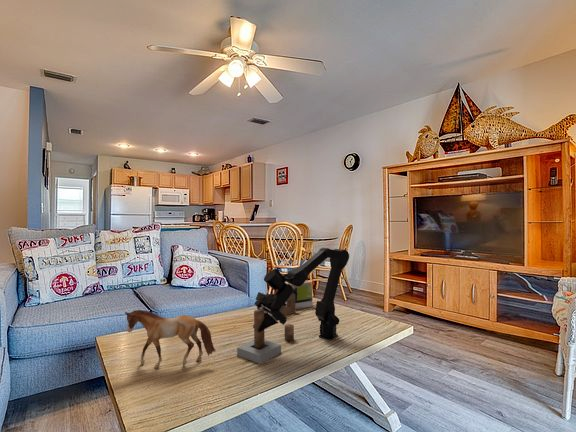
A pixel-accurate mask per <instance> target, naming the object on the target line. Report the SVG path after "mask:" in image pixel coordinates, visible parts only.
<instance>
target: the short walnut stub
mask: <svg viewBox="0 0 576 432" xmlns="http://www.w3.org/2000/svg"><path fill="white" fill-rule="evenodd" d="M294 331H295V325H294V324H292V323H291V324H290V323H288V324H287V323H285V324H284V341H286V342H293V341H294V340H295V332H294Z"/></svg>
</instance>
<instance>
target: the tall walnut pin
mask: <svg viewBox="0 0 576 432" xmlns="http://www.w3.org/2000/svg"><path fill="white" fill-rule="evenodd" d="M263 320H264V310H258V309H255V310H253V325H254V328H253V340H254V348H255V349H263V348H264V347H265V340H266V338H265V330H263V331H261V332H259V331H258V328H259V327H260V325H261V323H262V322H263Z"/></svg>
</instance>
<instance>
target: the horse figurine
mask: <svg viewBox="0 0 576 432" xmlns="http://www.w3.org/2000/svg"><path fill="white" fill-rule="evenodd" d="M124 314H125V315H126V321H127V323H126V325H127V326H126V332H128V333H132V332H133V330H134V328H135V326H136V325H137V324H138V322H139V323H140V324H141V325H142V327H143V328H144V329H145V330H146V335H147V339H146V342H145V344H144V346H143V349H142V352H141V355H140V365H141V366H142V365H144V364H145V362H146V360H145V354H146V351H147V349H148V348H149V346H150V345H151V344H153V345H154V347H155V348H156V349H155V350H156V352H157V356H158V361H157V362H156V363H155V365H154V366H153V369H159V368H160V366H161V365H160V364H161V363H162V361H163V357H162V353H161V352H162V349H161V343H160V340H161V339H162V340H163V339H169V338H175V337H176V336H177V337H178V339H180V340H181V342H182V343H183V344H185V345H187V351H186V352H185V354H184V356H183V360H182V367H184V366H185V365H187V363H188V361H187V359H188V357H189V354H190V353H191V351H192V349H193V348H194V345H195V344H196V345H197V348H198V356H197V358H196V360H195V361H197V362H198V361H199V362H200V361H201V360H202V358H203V357H202V356H203V354H204V352H203V347H204V350H205V352H206V354H207V356H210V355H212V354H213V352H216V351H217V350H216V349H215V347H214V343H213V340H212V333H211V331H210V329H209V328H208V326H207V325H206V324H205V323H204V322H202V321H201V320H198V319H196V318H195V317H192V316H190V315H185V314H182V315H178V316H176V317H169V318H166V317H162V316H160V315H158V314H156V313H153V312H151V311H147V310H143V309H142V310H141V309H137V310H133V311H130V312H127V311H126V312H125V313H124ZM199 330H200V337H201V340H200V339H199V337H198V331H199ZM190 338H191V339H192V340H193V341H194V342H195V343H194V342H193V341H192V340H191V339H190ZM202 343H203V347H202Z"/></svg>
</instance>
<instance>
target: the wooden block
mask: <svg viewBox="0 0 576 432" xmlns="http://www.w3.org/2000/svg"><path fill="white" fill-rule="evenodd" d="M292 287H293V286H292ZM293 288H295V287H293ZM280 312H281V313H282V314H283V315H285V316H287V315H291V314H294V313H295V312H296V309H295V295H294V294H292V295H291V296H290V298H289V299H288V300H287V307H285V306H283V307H282V308H281V310H280Z"/></svg>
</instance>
